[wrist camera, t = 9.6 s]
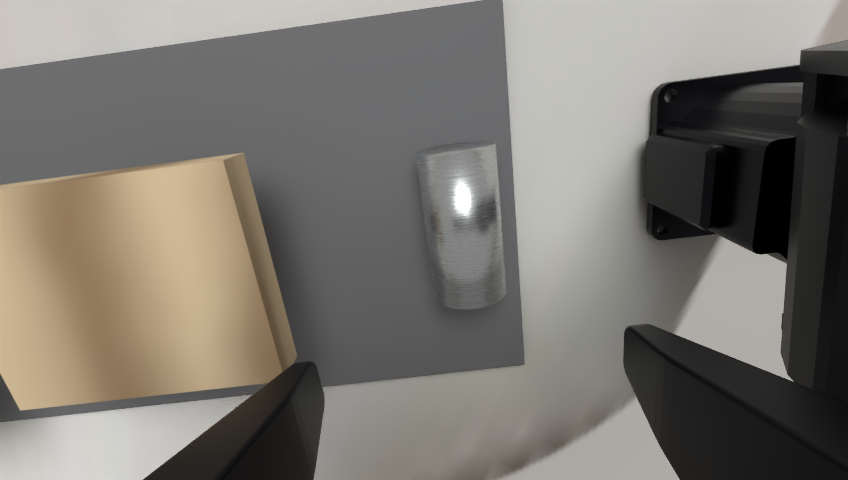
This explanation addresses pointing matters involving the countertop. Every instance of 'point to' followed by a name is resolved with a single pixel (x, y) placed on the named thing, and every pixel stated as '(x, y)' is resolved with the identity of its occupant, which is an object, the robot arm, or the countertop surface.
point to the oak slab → (137, 285)
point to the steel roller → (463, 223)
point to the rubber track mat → (304, 171)
